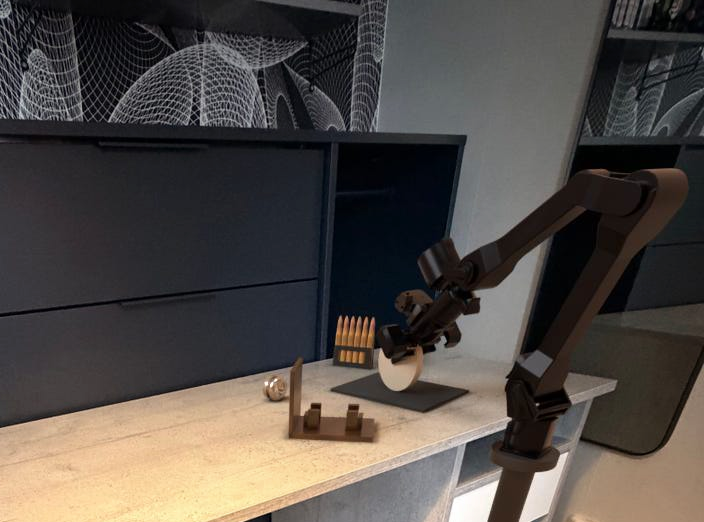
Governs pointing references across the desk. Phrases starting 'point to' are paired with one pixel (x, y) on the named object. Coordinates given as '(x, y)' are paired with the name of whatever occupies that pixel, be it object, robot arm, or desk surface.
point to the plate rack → (324, 426)
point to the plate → (401, 370)
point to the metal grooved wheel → (274, 388)
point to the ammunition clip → (354, 344)
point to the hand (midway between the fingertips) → (395, 361)
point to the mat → (401, 393)
